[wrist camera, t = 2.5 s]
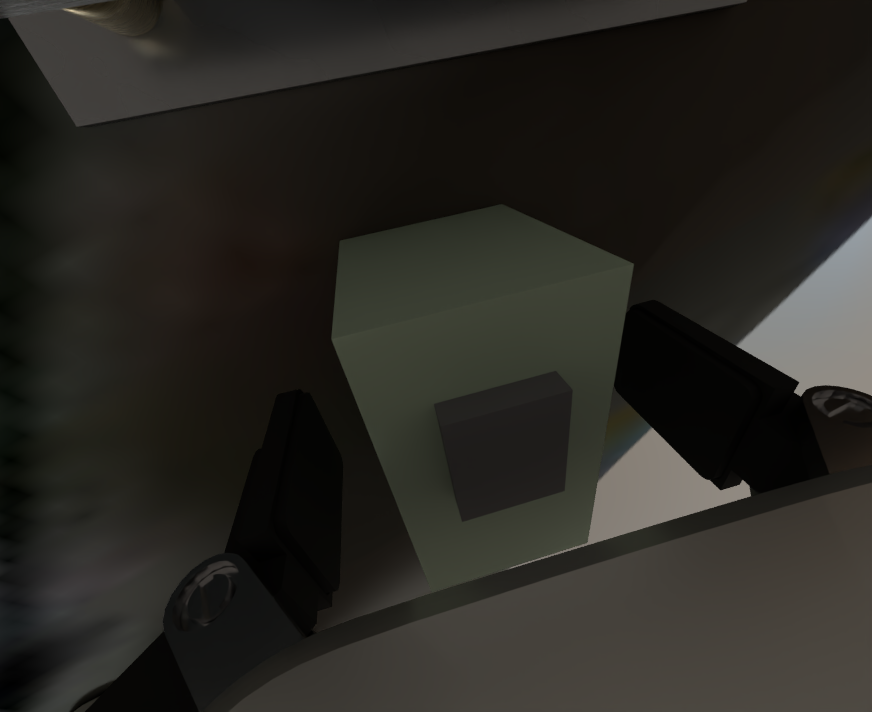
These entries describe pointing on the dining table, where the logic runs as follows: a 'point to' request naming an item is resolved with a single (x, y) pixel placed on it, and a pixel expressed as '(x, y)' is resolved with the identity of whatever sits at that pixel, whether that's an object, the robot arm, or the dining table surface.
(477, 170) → the dining table surface
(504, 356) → the pale green block
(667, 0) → the chassis
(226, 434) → the dining table surface
